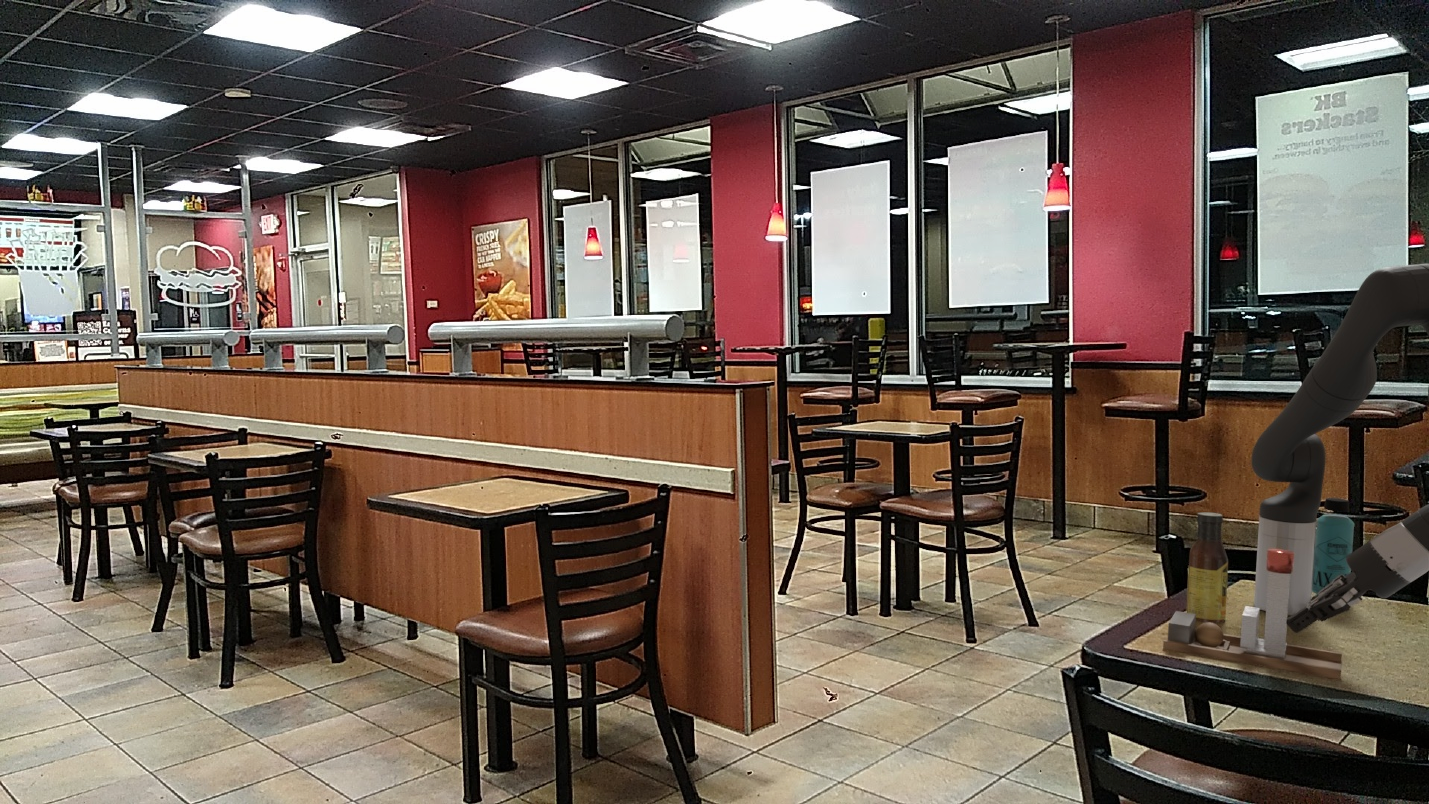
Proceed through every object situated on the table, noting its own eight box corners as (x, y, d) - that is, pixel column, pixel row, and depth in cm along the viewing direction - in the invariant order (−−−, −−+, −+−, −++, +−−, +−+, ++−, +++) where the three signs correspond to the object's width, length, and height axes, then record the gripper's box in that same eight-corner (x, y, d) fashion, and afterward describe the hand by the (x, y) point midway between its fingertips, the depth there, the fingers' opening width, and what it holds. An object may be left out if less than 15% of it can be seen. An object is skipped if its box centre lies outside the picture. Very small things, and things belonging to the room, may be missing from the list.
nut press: (1340, 669, 156) (1342, 634, 155) (1339, 689, 147) (1342, 652, 147) (1171, 641, 168) (1173, 609, 168) (1162, 657, 160) (1164, 624, 160)
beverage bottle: (1303, 595, 198) (1309, 495, 196) (1337, 596, 198) (1344, 495, 196) (1321, 605, 192) (1328, 501, 190) (1357, 606, 191) (1364, 502, 190)
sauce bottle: (1229, 632, 174) (1236, 518, 172) (1190, 629, 175) (1197, 516, 173) (1218, 621, 180) (1225, 511, 179) (1181, 618, 181) (1187, 509, 180)
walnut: (1191, 642, 163) (1192, 618, 163) (1217, 643, 163) (1218, 619, 162) (1200, 650, 159) (1201, 625, 159) (1226, 652, 159) (1228, 627, 158)
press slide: (1288, 652, 158) (1295, 548, 157) (1286, 665, 152) (1293, 557, 151) (1243, 644, 161) (1249, 543, 160) (1239, 657, 156) (1245, 551, 154)
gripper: (1371, 531, 154) (1274, 597, 161) (1372, 548, 143) (1269, 618, 150) (1410, 570, 152) (1311, 635, 159) (1415, 590, 140) (1308, 659, 148)
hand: (1290, 627), depth 155 cm, fingers closed
